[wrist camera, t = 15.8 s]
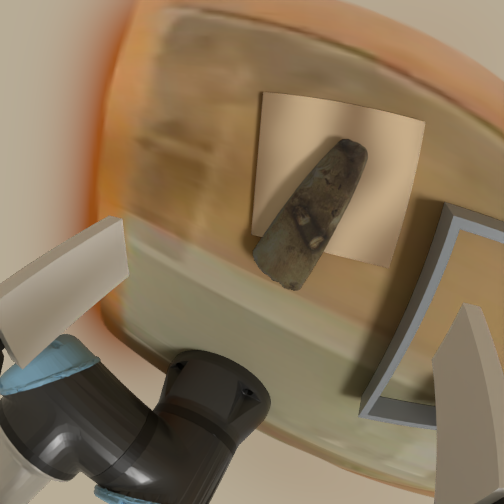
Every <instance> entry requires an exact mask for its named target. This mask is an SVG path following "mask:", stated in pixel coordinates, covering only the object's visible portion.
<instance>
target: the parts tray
mask: <svg viewBox="0 0 504 504" xmlns="http://www.w3.org/2000/svg"><path fill="white" fill-rule="evenodd" d="M460 229H461V230H464V231H467V232H471V233H474V234H477V235H480V236H483V237H486V238H489V239H492V240H495V241H498V242H501V243H504V222H503V221H500V220H497V219H494V218H492V217H489V216H486V215H483V214H480V213H477V212H474V211H471V210H468V209H465V208H462V207H459V206H456V205H453V204H449V203H446V202H445V203H444V206H443V210H442V213H441V216H440V220H439V223H438V226H437V229H436V232H435V235H434V238H433V241H432V244H431V247H430V250H429V253H428V256H427V258H426V261H425V264H424V266H423V269H422V272H421V274H420V277H419V279H418V282H417V285H416V287H415V289H414V292H413V294H412V297H411V299H410V301H409V304H408V306H407V308H406V311H405V313H404V315H403V317H402V320H401V322H400V324H399V326H398V328H397V330H396V332H395V335H394V337H393V339H392V341H391V343H390V345H389V347H388V349H387V351H386V353H385V355H384V357H383V359H382V361H381V362H380V364H379V366H378V368H377V370H376V372H375V374H374V375H373V377H372V379H371V381H370V383H369V384H368V386H367V388H366V390H365V391H364V393H363V395H362V397H361V403H360V409H359V414H358V417H361V418H366V419H371V420H376V421H381V422H386V423H392V424H398V425H404V426H410V427H417V428H424V429H432V430H437V424H436V406H429V405H423V404H417V403H411V402H406V401H400V400H395V399H390V398H385V397H380V394H381V393H382V391H383V390H384V388H385V386H386V385H387V383H388V382H389V380H390V378H391V377H392V375H393V373H394V371H395V370H396V368H397V366H398V365H399V363H400V361H401V359H402V358H403V356H404V354H405V352H406V350H407V349H408V347H409V345H410V343H411V341H412V339H413V337H414V335H415V333H416V331H417V330H418V328H419V326H420V324H421V322H422V320H423V317H424V315H425V313H426V311H427V309H428V307H429V305H430V303H431V300H432V298H433V296H434V294H435V292H436V289H437V287H438V285H439V282H440V280H441V278H442V275H443V273H444V270H445V268H446V265H447V263H448V260H449V258H450V255H451V252H452V250H453V247H454V244H455V241H456V239H457V236H458V233H459V230H460Z"/></svg>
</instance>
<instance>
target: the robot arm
mask: <svg viewBox="0 0 504 504" xmlns="http://www.w3.org/2000/svg"><path fill="white" fill-rule="evenodd" d="M128 276H129V269H128V262H127V255H126V247H125V239H124V230H123V220H122V219H121V218H117V217H113V216H108V217H106V218H104V219H103V220H101V221H99V222H97V223H95V224H94V225H92V226H90V227H89V228H87V229H85V230H83V231H82V232H80V233H78V234H76V235H75V236H73V237H71V238H70V239H68V240H66V241H65V242H63V243H61V244H60V245H58V246H57V247H55V248H53V249H52V250H50V251H49V252H47V253H45V254H44V255H42V256H41V257H39V258H38V259H36V260H35V261H33V262H31V263H30V264H28V265H27V266H25V267H24V268H22V269H21V270H19V271H18V272H16V273H15V274H13V275H12V276H11V277H9V278H8V279H6V280H5V281H3V282H2V283H1V284H0V374H1V369H2V365H3V360H4V355H3V353H2V350H3V349H4V348H5V349H6V350H7V352H8V354H9V356H10V358H11V359H12V360H13V361H14V362H15V364H14V365H13V366H12V367H10V368H9V369H8V370H7V371H6V372H5V373H4V374H3V375H2V376H1V377H0V394H1V395H2V396H3V397H2V398H1V400H0V504H28V503H29V502H30V500H32V499H33V498H34V497H35V496H36V495H37V494H38V493H39V492H40V490H42V489H43V488H44V487H45V486H46V485H47V484H48V483H49V482H50V481H51V480H54V481H59V482H68V481H70V480H71V479H73V477H75V476H76V475H77V474H78V473H79V472H83V473H84V474H85V475H87V476H88V477H89V478H91V479H92V480H93V481H95V482H96V483H97V484H98V485H96V486H95V490H94V494H95V495H96V496H97V497H98V498H100V499H102V500H103V501H105V502H107V503H109V504H209V503H210V501H211V499H212V497H213V495H214V493H215V491H216V489H217V487H218V485H219V483H220V481H221V480H222V478H223V475H224V474H225V472H226V470H227V468H228V466H229V464H230V461H231V459H232V457H233V455H234V453H235V451H236V449H237V447H238V446H239V444H241V442H243V441H244V440H245V438H247V437H248V436H249V435H250V434H251V433H252V432H253V431H254V430H255V429H256V428H257V427H258V426H259V425H260V424H261V423H262V422H263V420H264V419H265V418H266V416H267V414H268V411H269V409H270V405H271V400H270V396H269V393H268V391H267V390H266V388H265V387H264V385H263V384H262V383H261V382H260V380H259V379H258V378H257V377H256V376H254V375H253V374H252V373H251V372H250V371H248V370H247V369H246V368H244V367H243V366H241V365H239V364H238V363H236V362H234V361H232V360H230V359H228V358H226V357H223V356H221V355H218V354H215V353H211V352H207V351H201V350H189V351H185V352H182V353H180V354H179V355H177V356H176V357H175V359H174V360H173V361H172V363H171V364H170V366H169V368H168V371H167V375H166V378H165V382H164V385H163V389H162V393H161V396H160V400H159V402H158V404H157V405H156V407H155V408H154V410H153V411H152V410H151V409H150V408H148V407H147V406H146V405H145V404H144V403H143V402H142V401H141V400H140V399H138V398H137V397H136V396H135V395H134V394H133V393H132V392H131V391H130V390H129V389H128V388H127V387H126V386H124V385H123V384H122V383H121V382H120V381H119V380H118V379H117V378H116V377H115V376H114V375H113V374H112V373H111V372H110V371H109V370H108V369H107V368H106V367H105V366H104V365H103V364H102V363H101V362H100V358H99V357H97V356H95V355H93V353H92V352H90V351H89V350H88V349H87V348H86V347H85V346H84V345H83V343H82V342H81V341H80V340H79V339H77V338H76V337H75V336H72V335H69V334H62V333H63V332H64V331H65V330H66V329H67V328H68V327H69V326H71V325H72V324H73V323H74V322H75V321H76V320H77V319H79V318H80V317H81V316H82V315H83V314H84V313H85V312H87V311H88V310H89V309H90V308H91V307H92V306H93V305H95V304H96V303H97V302H98V301H99V300H101V299H102V298H103V297H104V296H105V295H107V294H108V293H109V292H110V291H111V290H112V289H114V288H115V287H116V286H117V285H118V284H120V283H121V282H122V281H123V280H125V279H126V278H127V277H128ZM60 334H62V335H60ZM432 366H433V376H434V387H435V402H436V424H437V463H436V485H435V498H434V504H504V375H503V372H502V368H501V365H500V362H499V358H498V355H497V352H496V349H495V346H494V343H493V340H492V337H491V334H490V331H489V328H488V325H487V323H486V320H485V317H484V315H483V312H482V310H481V307H479V306H475V305H471V304H467V303H463V304H462V306H461V308H460V310H459V312H458V314H457V316H456V318H455V320H454V322H453V324H452V326H451V327H450V329H449V331H448V333H447V335H446V336H445V338H444V340H443V342H442V343H441V345H440V347H439V349H438V350H437V352H436V354H435V355H434V357H433V359H432Z"/></svg>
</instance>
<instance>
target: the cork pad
mask: <svg viewBox="0 0 504 504" xmlns="http://www.w3.org/2000/svg"><path fill="white" fill-rule="evenodd" d="M424 128H425V122H423V121H420V120H416V119H413V118H409V117H405V116H401V115H398V114H394V113H389V112H385V111H381V110H377V109H372V108H368V107H363V106H358V105H353V104H348V103H342V102H337V101H331V100H325V99H318V98H311V97H304V96H297V95H288V94H279V93H269V92H263V102H262V113H261V125H260V137H259V148H258V160H257V172H256V184H255V195H254V207H253V219H252V231H251V235H255V236H259V237H262V236H263V235H264V233H265V232H266V230H267V229H268V227H269V226H270V225H271V223H272V222H273V220H274V219H275V217H276V216H277V215H278V213H279V212H280V210H281V209H282V208H283V206H284V205H285V204H286V202H287V201H288V199H289V198H290V197H291V195H292V194H293V193H294V192H295V190H296V189H297V188H298V186H299V185H300V184H301V183H302V181H303V180H304V179H305V178H306V177H307V175H308V174H309V173H310V172H311V171H312V169H313V168H314V167H315V166H316V165H317V164H318V163H319V161H320V160H321V159H322V158H323V157H324V156H325V155H326V154H327V153H328V152H329V151H330V150H331V149H332V148H333V147H334V146H335V145H336V144H337V143H338V142H339V141H340V140H342V139H350V140H352V141H354V142H358V143H359V144H361V145H362V146H363V147H365V148H366V149H367V152H368V160H367V163H366V165H365V168H364V171H363V173H362V176H361V178H360V180H359V183H358V185H357V187H356V190H355V192H354V194H353V196H352V198H351V200H350V203H349V204H348V206H347V208H346V210H345V212H344V214H343V216H342V218H341V220H340V222H339V223H338V225H337V227H336V230H335V231H334V233H333V235H332V237H331V239H330V241H329V243H328V244H327V246H326V248H325V250H324V251H323V252H325V253H329V254H333V255H337V256H341V257H345V258H349V259H353V260H357V261H361V262H365V263H369V264H373V265H377V266H381V267H385V268H389V266H390V263H391V260H392V257H393V254H394V251H395V248H396V244H397V241H398V238H399V235H400V231H401V228H402V224H403V221H404V217H405V213H406V210H407V206H408V202H409V198H410V194H411V190H412V186H413V182H414V177H415V173H416V169H417V164H418V159H419V154H420V149H421V144H422V139H423V133H424Z"/></svg>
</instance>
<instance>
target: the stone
mask: <svg viewBox="0 0 504 504" xmlns="http://www.w3.org/2000/svg"><path fill="white" fill-rule="evenodd" d="M367 160H368V152H367V149H366V148H365V147H363V146H362V145H361V144H359V143H358V142H354V141H352V140H350V139H342V140H340V141H339V142H338V143H337V144H336V145H335V146H334V147H333V148H332V149H331V150H330V151H329V152H328V153H327V154H326V155H325V156H324V157H323V158H322V159H321V160H320V161H319V163H318V164H317V165H316V166H315V167H314V168H313V169H312V171H311V172H310V173H309V174H308V175H307V177H306V178H305V179H304V180H303V181H302V183H301V184H300V185H299V186H298V188H297V189H296V190H295V192H294V193H293V194H292V195H291V197H290V198H289V199H288V201H287V202H286V204H285V205H284V206H283V208H282V209H281V210H280V212H279V213H278V215H277V216H276V217H275V219H274V220H273V222H272V223H271V225H270V226H269V227H268V229H267V230H266V232H265V233H264V235H263V236H262V238H261V239H260V241H259V242H258V244H257V245H256V247H255V249H254V250H253V257H254V261H255V262H256V264H257V265H258V267H259V268H260V269H261V271H262V272H263V273H264V274H266V275H268V276H269V277H270V278H271V279H272V280H273V281H277V282H279V283H280V284H281V285H282V286H283V287H284V288H286V289H291V290H294V291H295V290H299V289H301V287H302V286H303V284H304V283H305V281H306V279H307V278H308V276H309V275H310V273H311V271H312V270H313V268H314V266H315V265H316V263H317V262H318V260H319V258H320V257H321V255H322V253H323V251H324V250H325V248H326V246H327V244H328V243H329V241H330V239H331V237H332V235H333V233H334V231H335V230H336V227H337V225H338V223H339V222H340V220H341V218H342V216H343V214H344V212H345V210H346V208H347V206H348V204H349V203H350V200H351V198H352V196H353V194H354V192H355V190H356V187H357V185H358V183H359V180H360V178H361V176H362V173H363V171H364V168H365V165H366V163H367Z"/></svg>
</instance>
